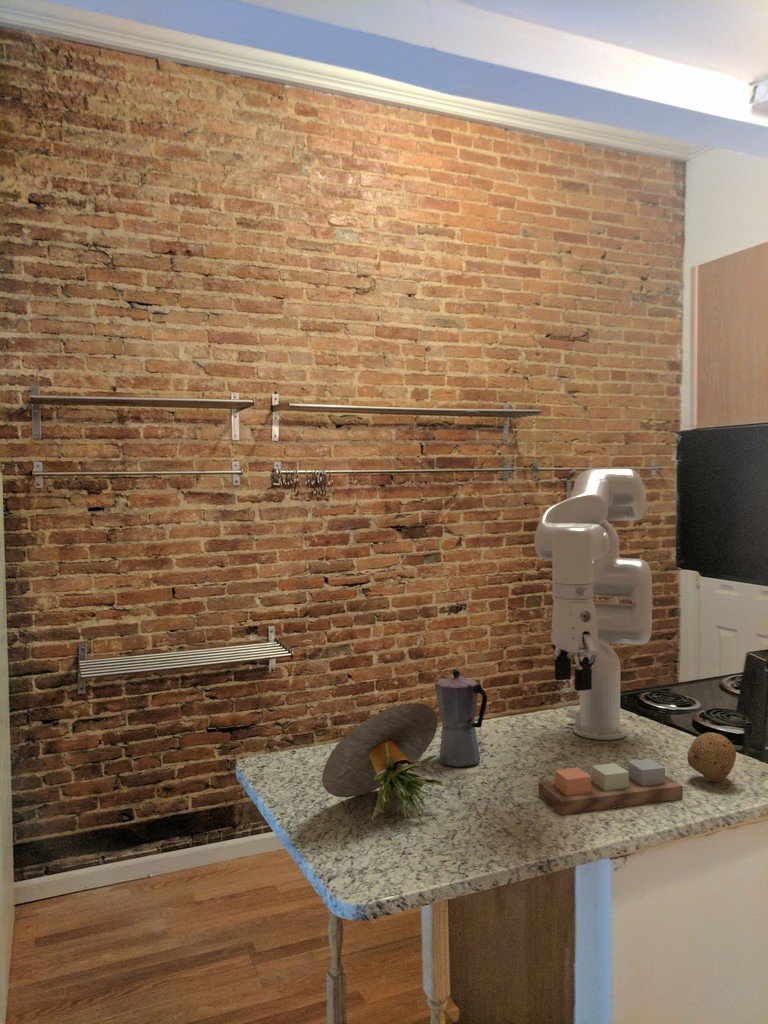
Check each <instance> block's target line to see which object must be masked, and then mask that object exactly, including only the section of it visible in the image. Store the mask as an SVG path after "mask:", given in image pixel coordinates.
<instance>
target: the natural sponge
mask: <svg viewBox="0 0 768 1024" xmlns="http://www.w3.org/2000/svg"><path fill="white" fill-rule="evenodd" d="M686 755H687V756H686V757H687V762H688V765H689V766H690V768H691V769H693V770H694V771H696V772H698V773H699V774H701V775H702V776H703V777H704V778H705V779H706V780H708V781H709V782H711V783H716V784H717V783H719V782H722V781H724V780H725V779H727V778H728V776H729V775H730V774H731V771H732V770H733V767H734V766H735V761H736V759H737V751H736V748H735V745H734V744H733V743H732V741H730V740H729V739H728V738H727V737H726V736H724V735H723V734H720V733H716V732H709V731H708V732H705V733H702V734H699V735H698V736H697V737H695V738H694V739H693V742H692V743H691V745H690V747H689V748H688V751H687V754H686Z"/></svg>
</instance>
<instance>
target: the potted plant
mask: <svg viewBox="0 0 768 1024" xmlns="http://www.w3.org/2000/svg"><path fill="white" fill-rule="evenodd" d="M437 728H438V718H437V713H436V712H435V710H434V709H433V708H432V707H430V706H429V705H426V704H422V703H412V702H411V703H403V704H400V705H396V706H392V707H390V708H387V709H384V710H382V711H380V712H378V713H376V714H375V715H373V716H371V717H369V718H367V719H366V720H365V721H363V722H362V723H360V724H358V725H357V726H356V727H354V729H352V730H351V731H350V732H348V734H347V735H345V736H344V737H343V738H342V739H341V740H340V741H339V742H338V743H337V744H336V746H335V747H334V748H333V750H332V752H331V753H330V755H329V756H328V758H327V760H326V762H325V764H324V765H325V766H324V768H323V771H322V774H321V781H322V782H321V784H322V786H323V788H324V790H325V791H326V792H327V793H328V794H330V795H332V796H334V797H337V798H351V797H357V796H361V795H365V794H369V793H372V792H374V791H376V790H378V794H377V795H378V796H377V801H376V803H375V805H374V809H373V812H372V814H371V815H372V816H371V821H372V822H374V821H375V818H376V817H377V816H378V814H382V813H384V809H385V805H386V803H387V802H390V797H391V798H392V799H393V800H395V796H394V794H393V791H394V790H395V792H396V795H397V797H398V799H399V801H400V804H401V808H402V812H403V815H404V817H405V818H407V816H408V818H409V819H412V815H411V813H410V811H409V809H408V806H407V804H408V805H409V808H410V809H411V810H412V812H413V813H414V815H415V816H416V817H417V818H418V821H420V823H421V825H424V822H423V820H422V819H421V818H420V816H421V813H422V814H423V815H425V814H426V812H424V810H426V809H427V808H426V805H425V801H424V800H423V799H426V797H425V796H423V795H422V794H424V795H428V794H429V793H428V792H425V791H424V790H423V789H422V788H423V787H424V785H428V786H429V785H435V786H440V787H447V788H453V785H451V786H450V785H447V784H443V782H442V781H439V780H437V779H434V778H433V779H432V778H431V779H430V778H428V777H425V776H422V775H420V774H415V773H411V772H410V771H412V772H415V769H416V768H417V767H420V766H421V765H424V764H425V763H427V762H429V761H431V760H432V759H434V758H437V755H436V754H435V755H431V756H429V757H427V758H424V759H421V760H419V759H420V758H421V757H422V756H423V755H424V754H425V752H426V751H427V749H428V747H430V746H431V743H432V742H433V740H434V739H435V736H436V733H437ZM418 760H419V761H418ZM421 793H422V794H421ZM422 798H423V799H422ZM406 803H407V804H406ZM420 804H421V805H422V806H423V808H424V810H423V808H422V807H421V806H420ZM417 806H418V807H417ZM418 808H419V809H418ZM420 812H421V813H420Z"/></svg>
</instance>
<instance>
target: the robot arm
mask: <svg viewBox="0 0 768 1024" xmlns="http://www.w3.org/2000/svg"><path fill="white" fill-rule="evenodd" d="M576 477H577V478H576V479H575V481H574V484H573V485H574V486H573V488H572V490H571V493H570V497H569V498H566V499H564V500H563V501H560V502H559V503H556V504H554V505H552V506H551V507H549V508H547V509H546V510H545V511H544V512H543V514H542V515H541V517H540V520H539V522H538V524H537V526H536V530H535V534H534V543H533V544H534V549H535V552H536V554H537V556H538V557H539V558H541V559H542V560H545V561H552V563H551V565H552V573H551V574H552V580H551V581H552V583H551V584H552V587H551V588H552V595H551V596H552V600H553V602H552V603H553V604H552V615H551V634H550V635H549V636H550V640H551V643H552V647H551V648H552V650H553V659H554V680H556V681H566V680H567V681H568V680H571V679H572V659H571V658H569V657H570V654H571V655H573V657H574V662H575V665H576V668H574V690H575V691H576V692H579V709H576V708H572V707H568V709H567V713H566V718H567V719H574V720H575V723H573V725H572V731H573V732H574V733H575V734H576V735H578V736H580V737H583V738H587V739H590V740H597V741H598V740H599V741H614V740H615V741H616V740H620V739H623V738H625V737H626V736H627V734H628V730H627V727H626V726H625V725H622V724H621V662H620V661H621V659H620V658H619V655H618V654H617V652H616V651H615V650H614V649H613V647H612V644H620V645H634V646H635V645H636V646H639V645H645V644H648V642H649V641H650V640H651V638H652V630H653V579H652V578H653V577H652V571H651V566H650V565H649V563H648V562H647V561H645V560H644V559H642V558H633V557H632V558H631V557H630V558H629V557H626V558H625V557H621V556H620V536H619V534H618V533H617V531H616V530H615V528H614V527H613V526H612V525H611V524H610V522H611V521H614V522H615V521H617V522H619V521H620V522H624V521H625V522H635V521H639V520H641V519H642V518H643V517H644V516H645V514H646V511H647V506H648V505H647V494H646V489H645V487H644V483H643V480H642V478H641V476H640V474H639V473H638V472H637V471H635V470H634V469H632V468H621V467H620V468H590V469H587V470H585V471H583V472H581V473H580V474H578V476H576ZM609 521H610V522H609ZM594 597H600V598H602V597H603V598H617V599H618V598H620V599H629V600H630V601H631V603H616V602H599V601H596V602H594ZM610 644H611V645H610Z"/></svg>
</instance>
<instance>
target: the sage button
mask: <svg viewBox="0 0 768 1024" xmlns="http://www.w3.org/2000/svg"><path fill="white" fill-rule="evenodd" d="M591 776H592V782H593V783H594V784H595V785H597V786H598V787H600V788H601V789H602V790H604V791H610V790H618V789H626V788H629V772H628V770H626V769H624V768H623V767H621V766H620V765H619V764H617V763H615V762H613V763H603V764H596V765H591Z"/></svg>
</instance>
